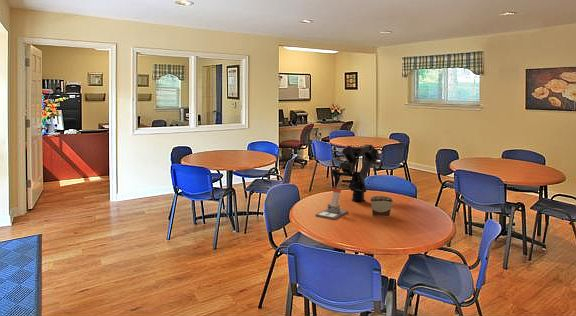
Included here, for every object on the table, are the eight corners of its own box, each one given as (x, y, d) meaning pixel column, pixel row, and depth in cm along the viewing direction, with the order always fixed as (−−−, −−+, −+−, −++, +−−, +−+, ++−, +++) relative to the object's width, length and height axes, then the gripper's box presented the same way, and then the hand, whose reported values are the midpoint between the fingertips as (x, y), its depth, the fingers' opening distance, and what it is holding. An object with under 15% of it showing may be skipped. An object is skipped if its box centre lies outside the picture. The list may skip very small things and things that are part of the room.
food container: (390, 213, 238) (391, 196, 237) (392, 216, 232) (393, 198, 231) (368, 212, 240) (369, 195, 238) (369, 216, 234) (370, 198, 232)
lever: (330, 208, 240) (334, 188, 242) (337, 209, 237) (341, 189, 239) (329, 207, 238) (332, 188, 240) (336, 208, 236) (339, 189, 237)
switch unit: (329, 209, 247) (329, 201, 246) (347, 212, 240) (348, 204, 239) (315, 216, 233) (315, 207, 233) (334, 219, 227) (335, 210, 226)
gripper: (332, 155, 252) (323, 177, 245) (361, 158, 242) (352, 181, 235) (338, 166, 260) (329, 187, 253) (366, 169, 249) (358, 191, 243)
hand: (342, 186), depth 246 cm, fingers open, 9 cm apart
